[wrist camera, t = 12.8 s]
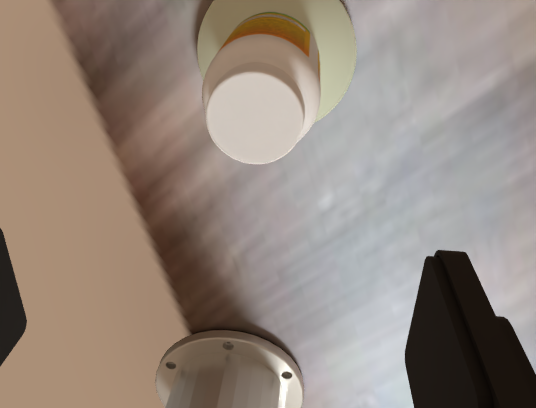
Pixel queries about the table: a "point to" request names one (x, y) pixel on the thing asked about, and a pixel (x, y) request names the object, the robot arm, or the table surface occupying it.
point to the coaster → (312, 16)
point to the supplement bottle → (263, 88)
